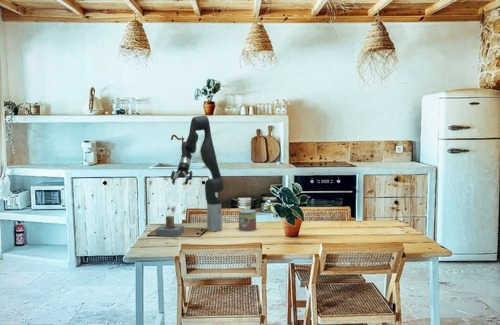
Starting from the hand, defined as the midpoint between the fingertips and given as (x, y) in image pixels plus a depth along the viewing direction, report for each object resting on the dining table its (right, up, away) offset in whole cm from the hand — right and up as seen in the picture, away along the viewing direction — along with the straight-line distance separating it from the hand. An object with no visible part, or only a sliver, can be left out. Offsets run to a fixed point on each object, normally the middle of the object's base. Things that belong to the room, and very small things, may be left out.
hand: (179, 184), depth 294 cm
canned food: (+45, -29, -7) cm, 54 cm away
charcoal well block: (-3, -30, -18) cm, 35 cm away
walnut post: (-3, -30, -18) cm, 35 cm away
